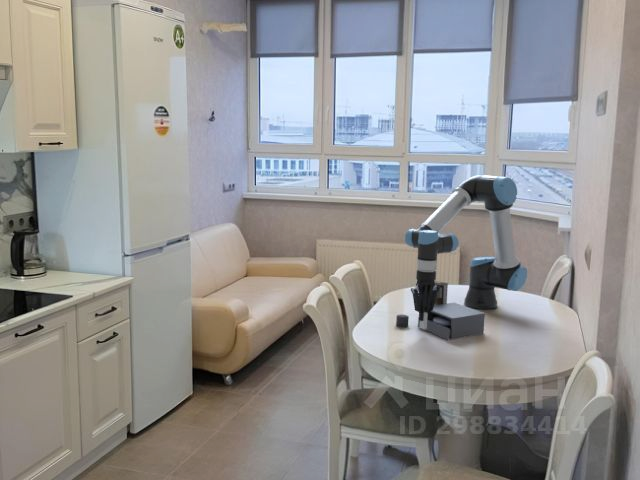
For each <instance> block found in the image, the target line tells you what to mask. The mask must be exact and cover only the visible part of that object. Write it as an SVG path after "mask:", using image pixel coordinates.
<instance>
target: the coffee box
mask: <svg viewBox="0 0 640 480" xmlns="http://www.w3.org/2000/svg"><path fill="white" fill-rule="evenodd" d="M435 285H436V286H438V287H440V289H439V291H438V292H437V296H436V300H435V304H434V305H440V304H447V303H448V285H449V283H448V282H443V281H436V280H435Z"/></svg>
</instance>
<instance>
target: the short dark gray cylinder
mask: <svg viewBox="0 0 640 480" xmlns="http://www.w3.org/2000/svg"><path fill="white" fill-rule="evenodd" d="M395 319H396V320H395V321H396V322H395V325H396V327H398V328H408V327H409V319H410V318H409V315H407V314H396V318H395Z"/></svg>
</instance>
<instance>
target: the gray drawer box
mask: <svg viewBox="0 0 640 480" xmlns="http://www.w3.org/2000/svg"><path fill="white" fill-rule="evenodd" d="M485 313H486V312H482V311H481V310H480V311H479V310H477V309H475V308H472V307H468V306H466V305H464V304H463V305H462V304H459V303H457V302H447V304H440V305H434V309H433V310H431V313H429V318H428V320H433V318H434V317H437V316H443V317H445V318H448V319H450V320H451V331H450V336H449V339H448V340H457V339H460V338H466V337H467V338H468V337H471V336H477V335H482V334H484V330H485V320H486V319H485V317H486V316H485V315H486V314H485Z"/></svg>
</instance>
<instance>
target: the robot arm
mask: <svg viewBox="0 0 640 480" xmlns="http://www.w3.org/2000/svg"><path fill="white" fill-rule="evenodd" d="M517 195H518V187H517V185H516V182H515V181H514V180H513V179H512V178H511V177H508V176H503V175H499V176H497V175H484V174H478V175H477V174H476V175H474V176H470V177H468V178H467V179H465V180H464V181H463V180H462V182H461V183H459V184H458V185H456V186H455V187H454V189H453V190H452V192H451V195H449V197H447V199H446V200H444V202H443V203H441V205H440V206H439V207H438V208H436V209H435V211H433V212H432V213H431V215H429V216H428V218H426V220H425V221H423V222H422V223H421V224H420V225H419V226H418V227H417V228H409V229H408V230H406V232H405V235H404V242H405V244H406V245H407V246H409V247H412V248H415V249H417V258H416V259H417V261H416V269H417V270H416V278H415V279H416V284H415V286H414V288H413V287H411V288H410V291H411V293H412V299H413V300H412V301H413V306H414V307H413V308H414V311H416V312H418V317H419V320H420V326H419V327H418V328H419V329H422V330H424V329H427V320H428V318H429V313H431V310H433V309H434V304H435V300H436V296H437V292H438V291H439V289H440V287H438V286H436V285H435V281H436V279H437V278H436V277H437V271H436V270H437V268H438V267H437V266H438V265H437V263H438V255H439V254H445V253H446V254H447V253H452V252H454V251H456V250H458V247H459V239H458V237H457V235H456V234H454V233H448V232H447V233H441V231H442V230H443V229H444V228H445V227H446V226H447V225H448V224H449V223H450V222H451V221H452V220H453V218H455V217H456V216H457V215H458V214H459V213H460V212H461V211H462V210H463V209H464V207H468V206H470V205H471V204H472V203H475V202H479V203H483V204H484V209H485V210H486V211H487V212H489V217H490V224H491V225H490V226H491V232H492V233H491V234H492V238H493V239H492V240H493V247H494V253H495V256H479V257H474V258H472V259H471V261H470V266H469V268H470V269H469V283H468V284H469V285H468V290H467V292H466V296H465V298H464V301H463V302H464V304H463V305H464V306H466V307H469V308H471V309H476V310H477V309H478V310H493V309H497V307H498V300H497V298H496V297H497V296H496V293H495V292H496V291H495V288H498V289H502V290H503V289H504V290H507V291H513V292H517V291H520V290H522V288H523V287H524V285H525V284H526V282H527V278H528V270H527V268H526V267H525V266H523V265H522V264H521V260H520V258H519V257H517V255H516V247H515V246H516V245H515V240H514V232H513V225H512V224H513V223H512V216H511V208H513V205H514V203H516V200H517Z"/></svg>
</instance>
